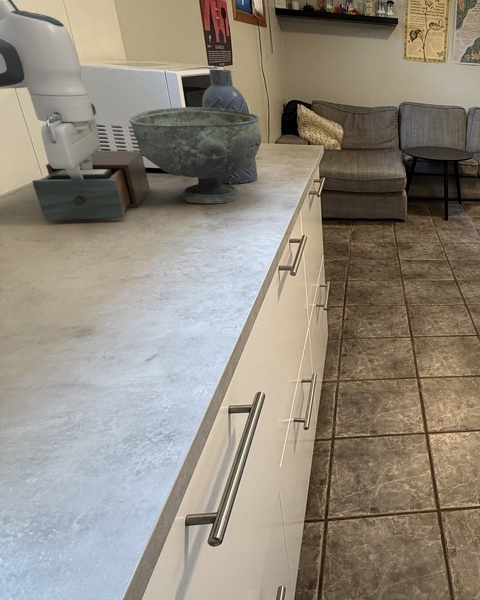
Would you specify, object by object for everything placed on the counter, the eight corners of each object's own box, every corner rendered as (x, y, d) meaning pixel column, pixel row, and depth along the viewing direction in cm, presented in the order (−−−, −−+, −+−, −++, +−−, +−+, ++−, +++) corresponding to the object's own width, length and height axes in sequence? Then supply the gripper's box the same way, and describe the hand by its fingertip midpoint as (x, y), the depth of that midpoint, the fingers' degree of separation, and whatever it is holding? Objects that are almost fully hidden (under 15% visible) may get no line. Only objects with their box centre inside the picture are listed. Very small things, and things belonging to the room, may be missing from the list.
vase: (255, 184, 131) (241, 72, 118) (207, 184, 128) (188, 69, 115) (260, 174, 142) (248, 70, 129) (216, 173, 139) (199, 67, 126)
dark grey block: (109, 191, 98) (104, 174, 96) (56, 193, 94) (50, 174, 93) (115, 185, 102) (110, 168, 100) (64, 186, 99) (59, 169, 97)
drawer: (122, 219, 97) (113, 181, 93) (43, 222, 92) (29, 182, 89) (137, 198, 110) (129, 164, 106) (68, 200, 105) (57, 165, 102)
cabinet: (138, 207, 107) (127, 164, 103) (60, 210, 102) (45, 165, 98) (150, 189, 120) (141, 151, 115) (81, 191, 115) (69, 150, 110)
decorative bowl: (273, 182, 132) (262, 106, 122) (266, 211, 111) (252, 122, 101) (169, 186, 126) (148, 106, 116) (140, 217, 104) (112, 122, 95)
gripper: (66, 117, 83) (88, 194, 90) (97, 104, 100) (114, 170, 107) (22, 116, 81) (48, 195, 88) (61, 103, 98) (80, 170, 104)
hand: (84, 181), depth 97 cm, fingers closed on dark grey block, 5 cm apart
